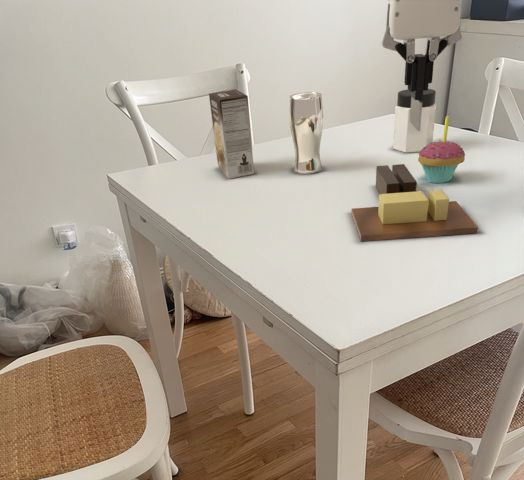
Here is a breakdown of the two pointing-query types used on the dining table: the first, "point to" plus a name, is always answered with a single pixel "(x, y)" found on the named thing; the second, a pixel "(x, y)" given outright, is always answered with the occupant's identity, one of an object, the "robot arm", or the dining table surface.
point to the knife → (418, 92)
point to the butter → (403, 207)
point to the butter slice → (438, 205)
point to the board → (412, 225)
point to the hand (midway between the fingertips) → (417, 88)
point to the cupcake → (441, 158)
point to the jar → (404, 130)
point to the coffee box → (232, 133)
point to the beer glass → (306, 130)
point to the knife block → (394, 179)
